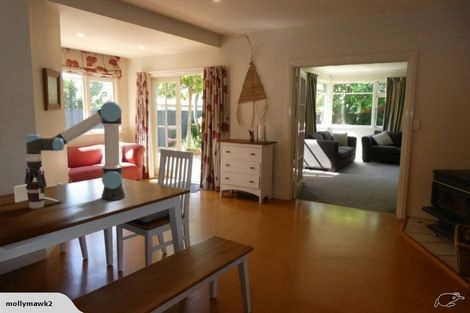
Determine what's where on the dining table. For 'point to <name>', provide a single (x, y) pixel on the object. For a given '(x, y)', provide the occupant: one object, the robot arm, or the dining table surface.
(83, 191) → the dining table surface
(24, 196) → the door
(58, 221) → the dining table surface
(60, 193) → the wall frame
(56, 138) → the robot arm
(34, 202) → the coffee cup
